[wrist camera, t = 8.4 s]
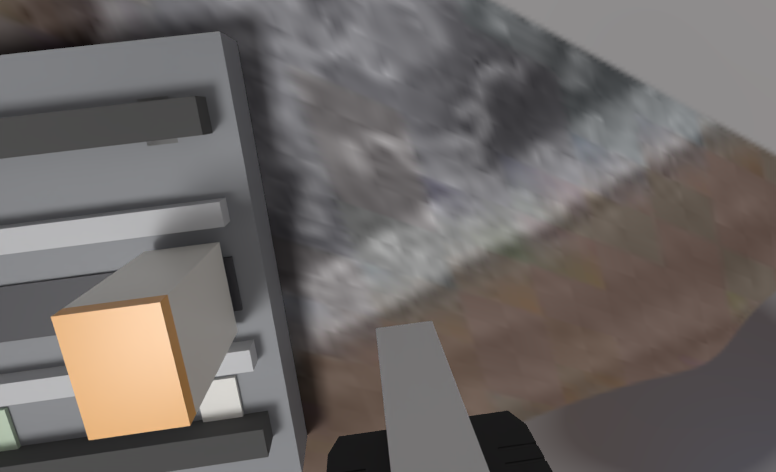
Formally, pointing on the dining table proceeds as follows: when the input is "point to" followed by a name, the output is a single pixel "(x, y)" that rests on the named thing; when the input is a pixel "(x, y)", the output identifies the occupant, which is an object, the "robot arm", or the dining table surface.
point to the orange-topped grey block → (148, 341)
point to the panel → (138, 232)
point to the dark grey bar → (105, 126)
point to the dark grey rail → (150, 449)
